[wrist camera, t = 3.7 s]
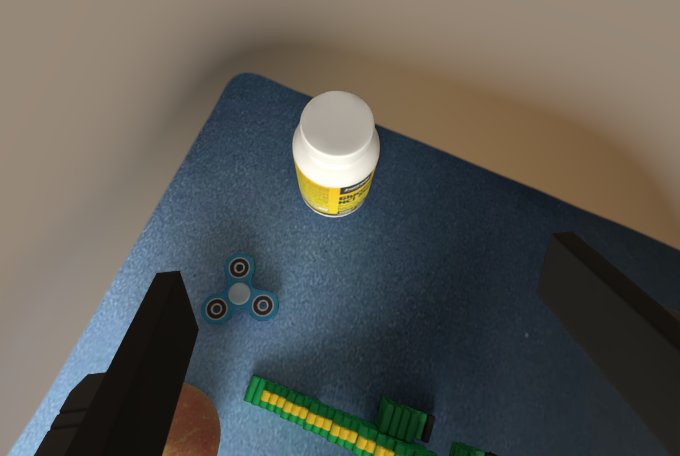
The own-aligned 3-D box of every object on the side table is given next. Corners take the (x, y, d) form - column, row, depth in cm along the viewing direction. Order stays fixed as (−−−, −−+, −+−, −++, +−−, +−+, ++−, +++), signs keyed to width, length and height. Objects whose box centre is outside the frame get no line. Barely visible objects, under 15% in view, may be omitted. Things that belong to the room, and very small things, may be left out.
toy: (259, 347, 31) (257, 348, 30) (198, 316, 31) (194, 316, 30) (294, 278, 32) (293, 277, 31) (235, 249, 33) (232, 247, 32)
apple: (246, 386, 30) (218, 406, 23) (211, 513, 28) (166, 584, 20) (140, 359, 31) (76, 370, 23) (97, 483, 28) (10, 542, 21)
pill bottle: (343, 232, 34) (350, 188, 23) (285, 194, 34) (266, 133, 24) (382, 177, 35) (405, 112, 24) (326, 141, 36) (324, 62, 25)
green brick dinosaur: (234, 424, 30) (196, 463, 21) (263, 350, 31) (239, 359, 23) (484, 524, 29) (551, 608, 20) (503, 443, 30) (573, 489, 21)
